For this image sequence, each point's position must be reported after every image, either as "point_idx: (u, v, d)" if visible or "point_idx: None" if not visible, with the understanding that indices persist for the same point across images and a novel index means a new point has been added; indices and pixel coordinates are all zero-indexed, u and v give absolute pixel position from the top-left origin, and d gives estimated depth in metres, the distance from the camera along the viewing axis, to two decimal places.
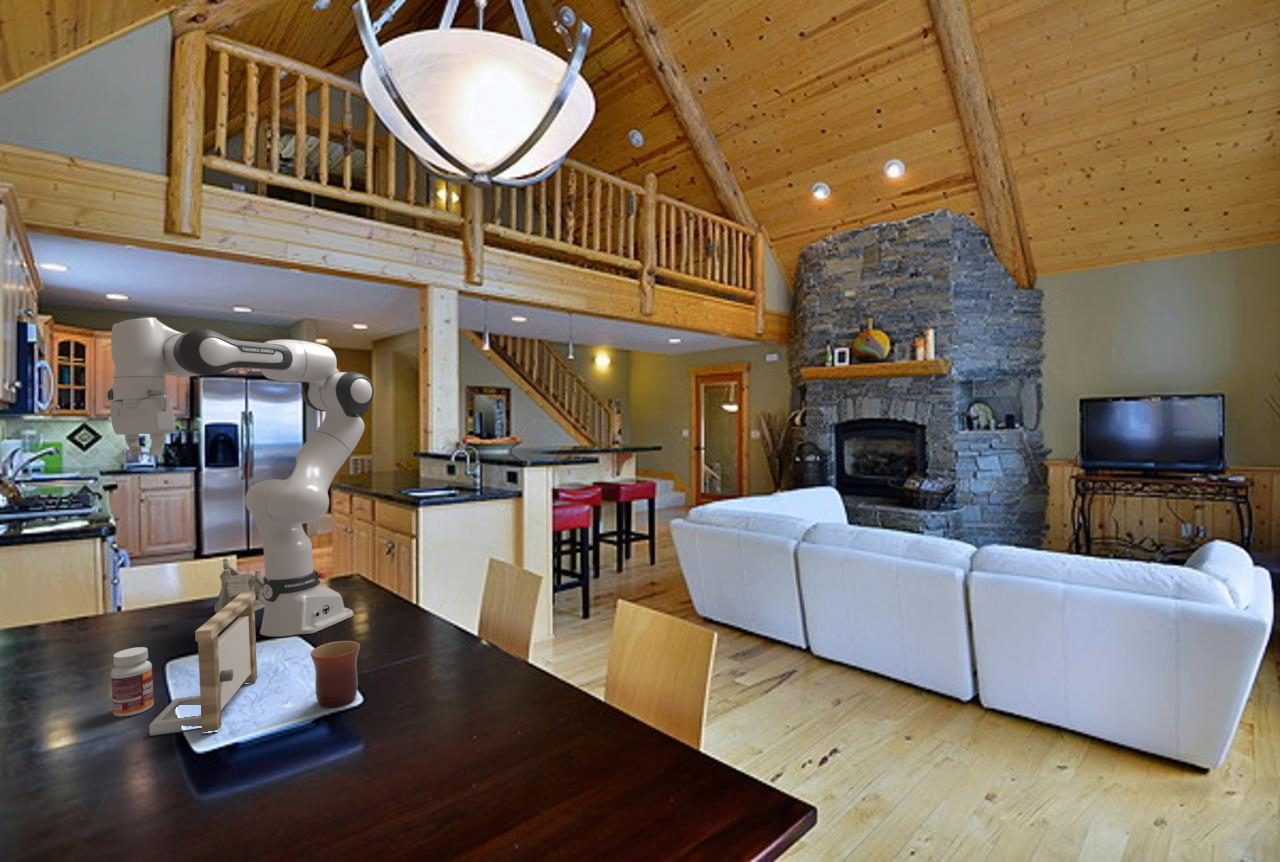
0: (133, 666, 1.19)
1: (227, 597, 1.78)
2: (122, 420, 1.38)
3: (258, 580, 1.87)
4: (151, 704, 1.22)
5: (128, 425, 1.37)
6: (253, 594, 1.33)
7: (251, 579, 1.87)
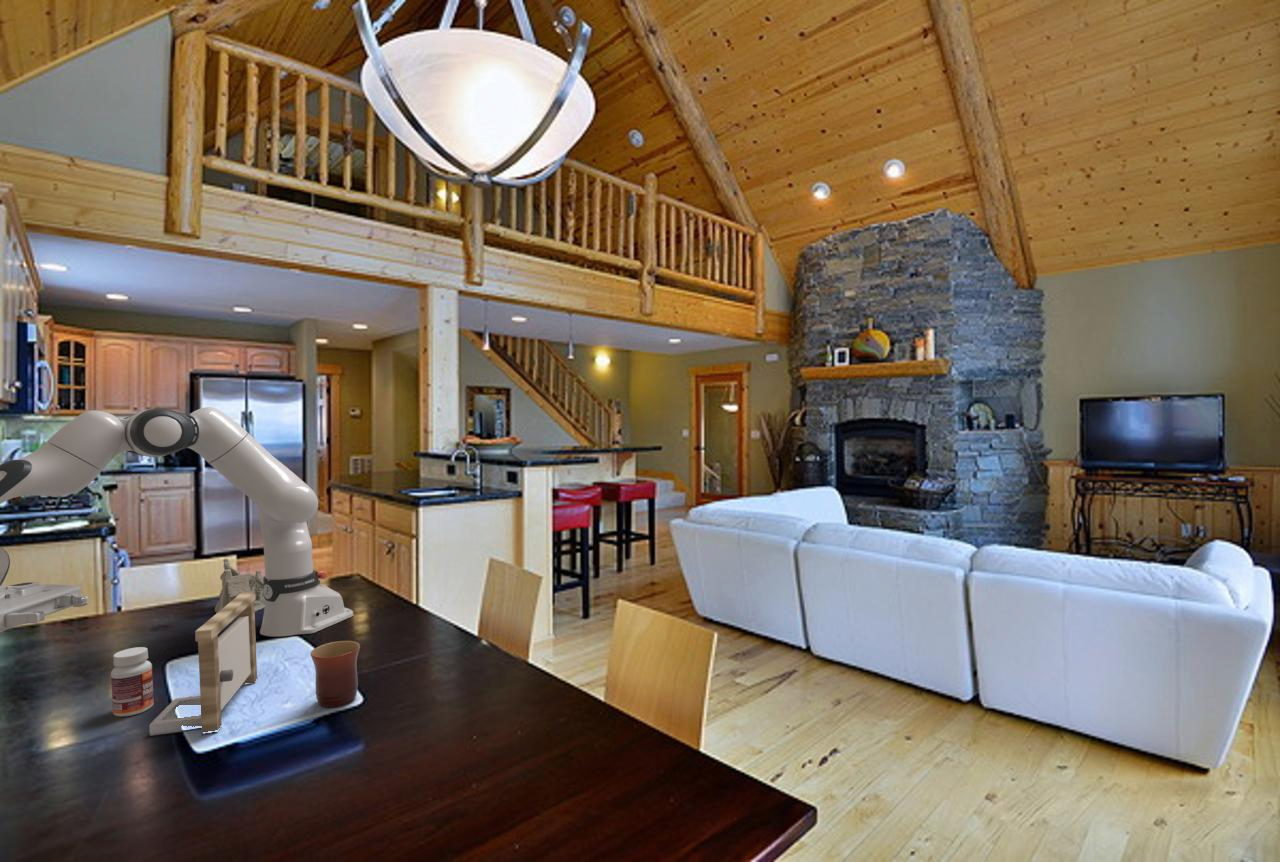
0: (133, 666, 1.19)
1: (228, 597, 1.78)
2: None
3: (259, 580, 1.87)
4: (151, 704, 1.22)
5: None
6: (253, 594, 1.33)
7: (252, 579, 1.87)
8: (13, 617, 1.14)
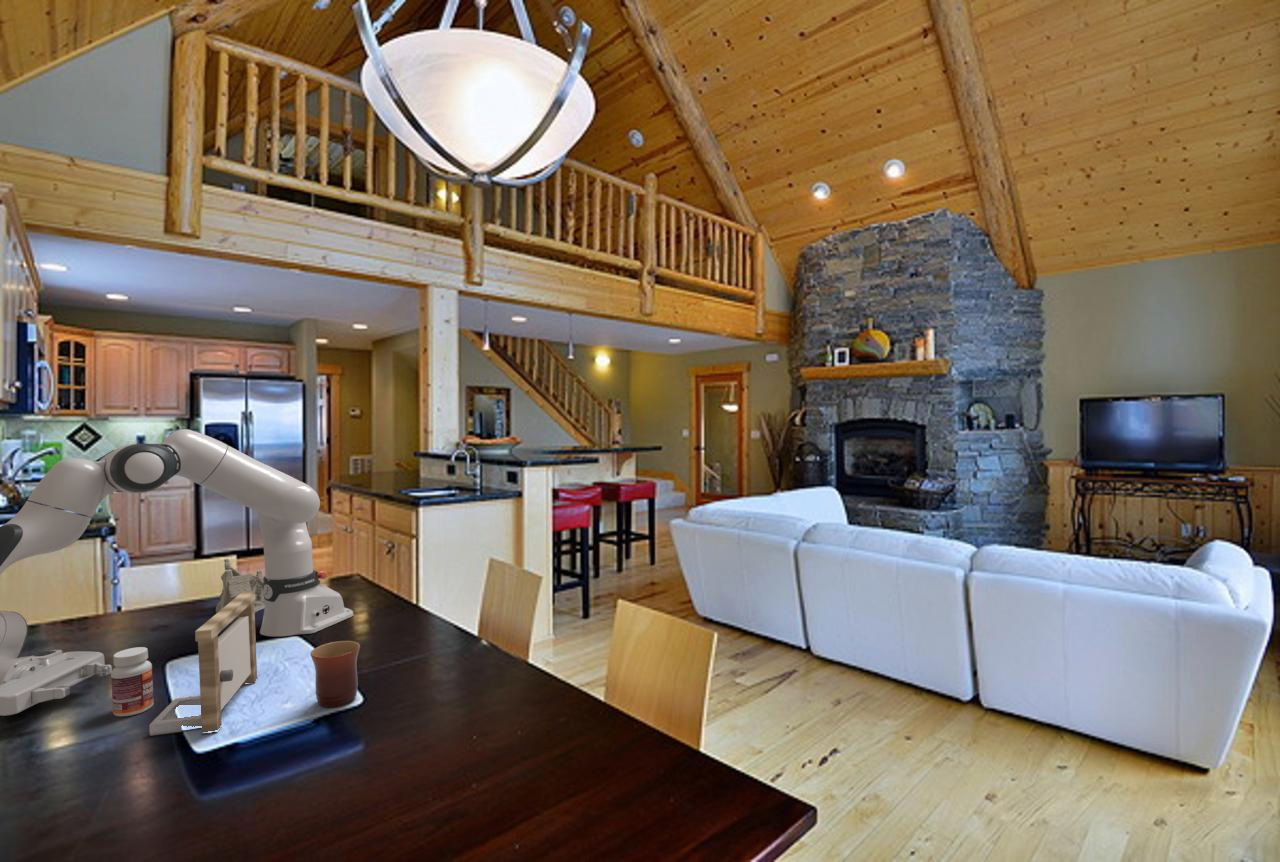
0: (133, 666, 1.19)
1: (229, 598, 1.78)
2: None
3: (260, 580, 1.86)
4: (151, 704, 1.22)
5: None
6: (253, 594, 1.33)
7: (252, 579, 1.86)
8: (39, 693, 1.15)
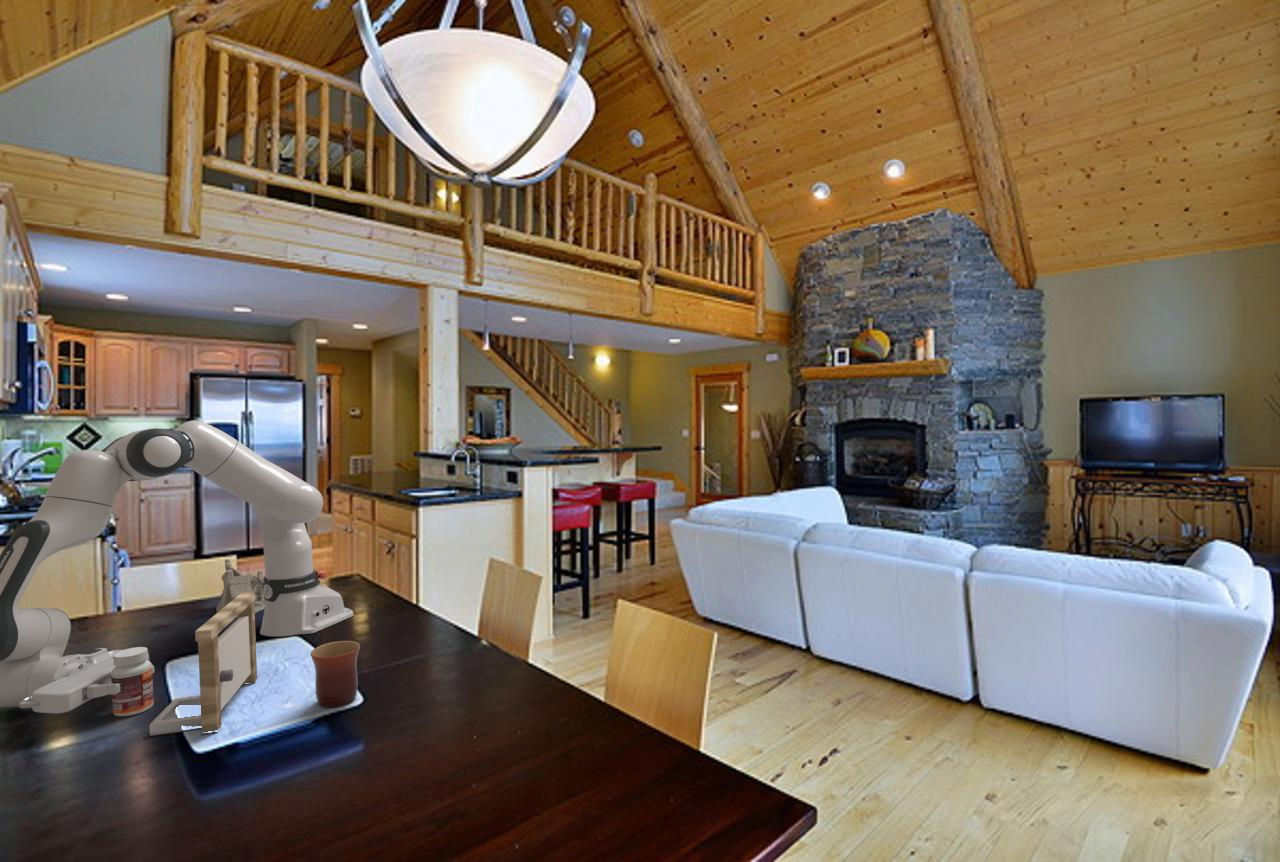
0: (133, 666, 1.19)
1: (229, 598, 1.78)
2: None
3: (260, 581, 1.86)
4: (151, 704, 1.22)
5: None
6: (253, 594, 1.33)
7: (253, 580, 1.86)
8: (95, 689, 1.16)
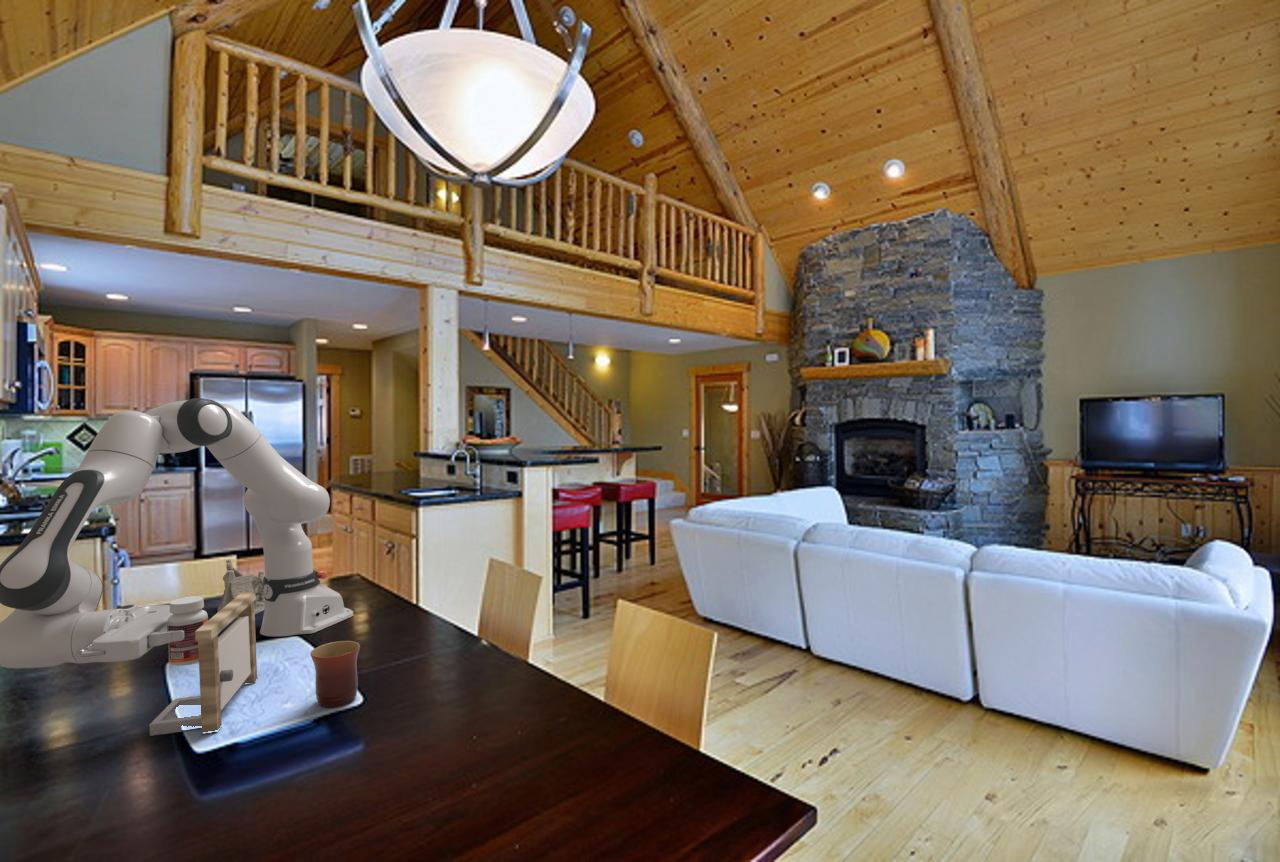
0: (193, 613, 1.16)
1: (231, 598, 1.77)
2: None
3: (262, 581, 1.86)
4: None
5: None
6: (253, 594, 1.33)
7: (254, 580, 1.86)
8: (159, 636, 1.11)
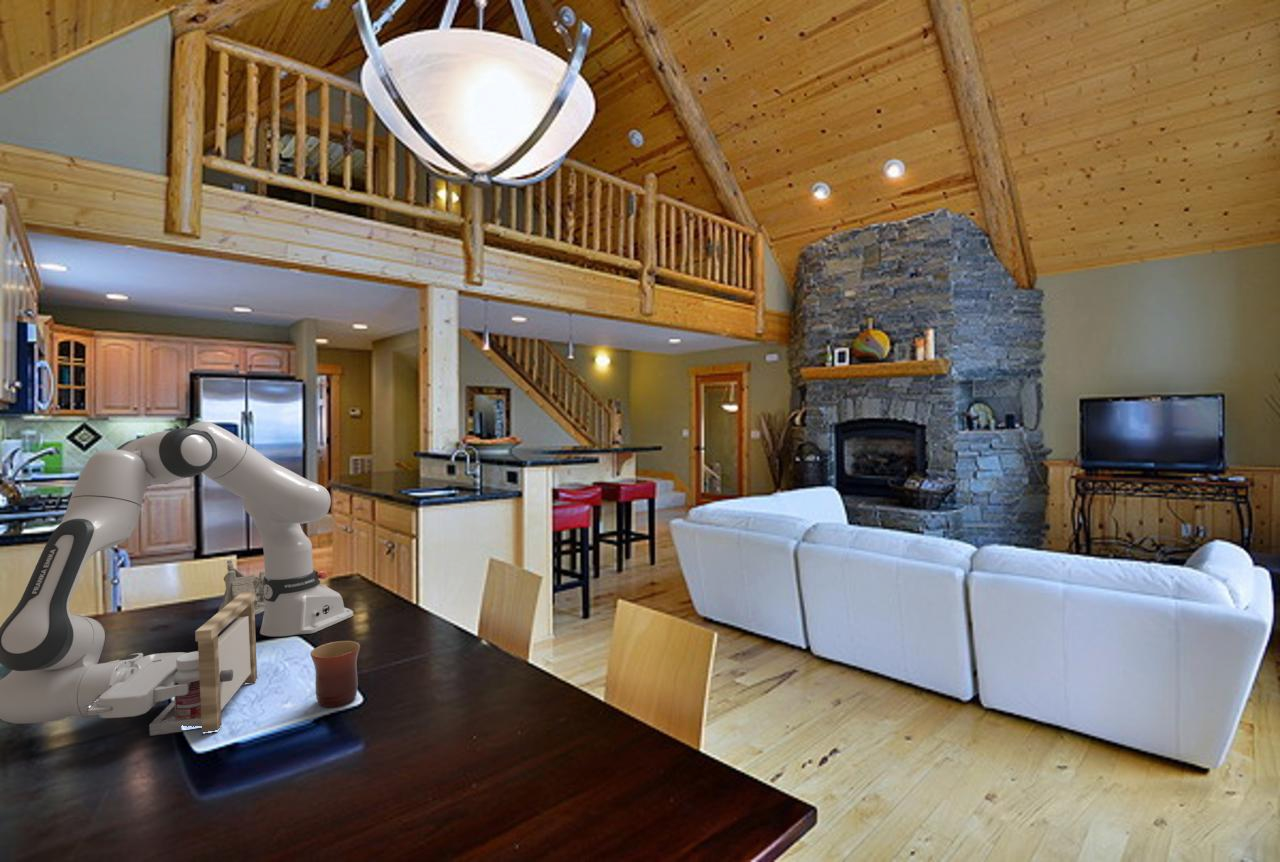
0: None
1: (232, 599, 1.77)
2: None
3: None
4: None
5: None
6: (253, 594, 1.33)
7: (255, 581, 1.85)
8: (163, 691, 1.11)
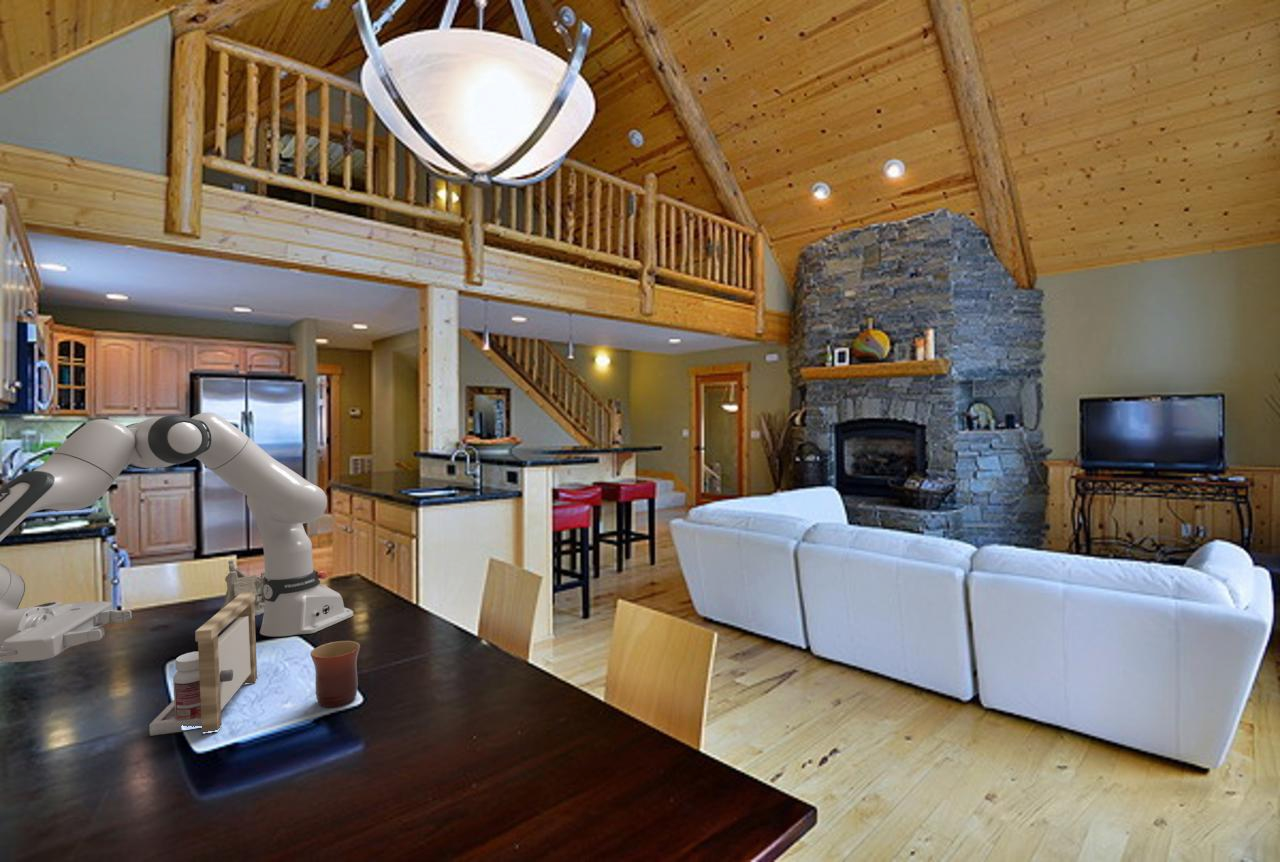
0: None
1: None
2: None
3: None
4: None
5: None
6: (253, 594, 1.33)
7: (257, 581, 1.85)
8: (73, 636, 1.07)
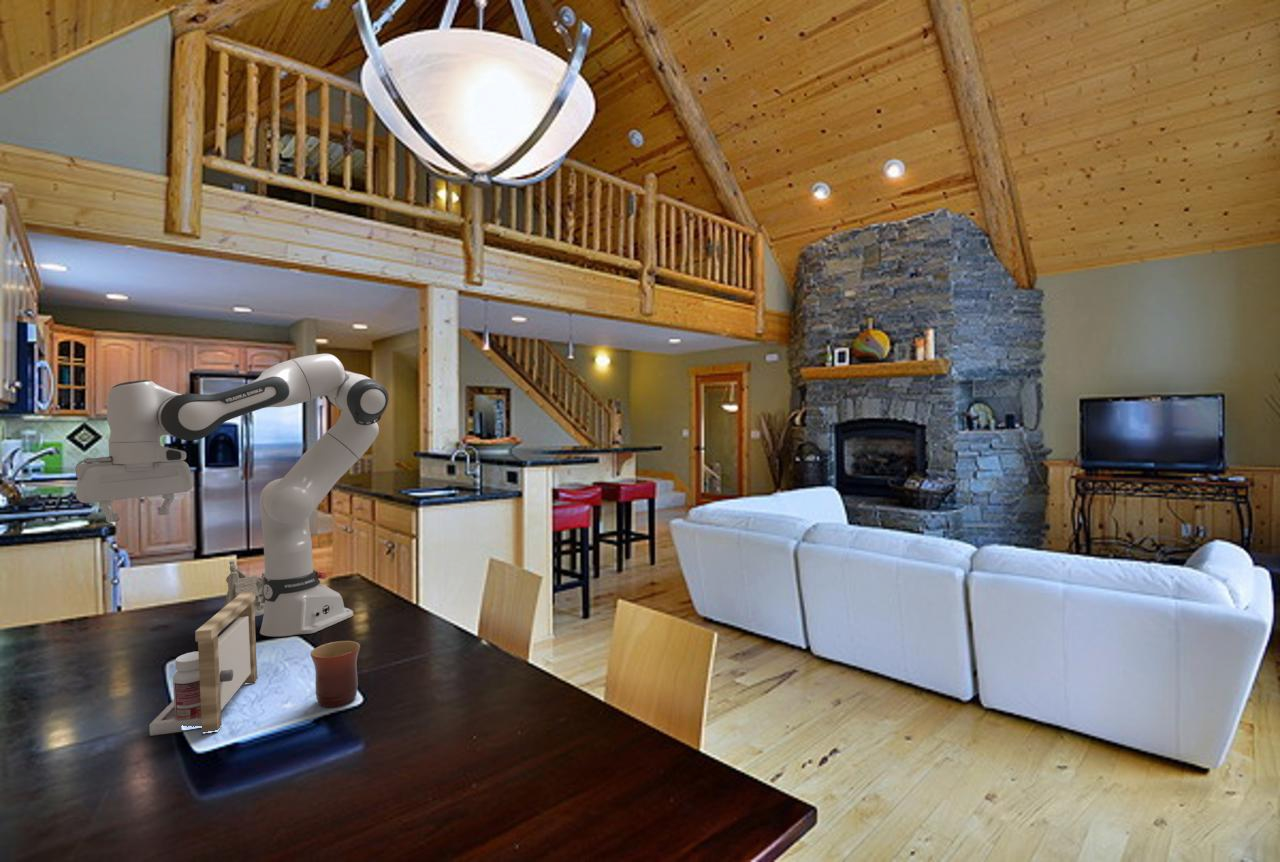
0: None
1: None
2: None
3: None
4: None
5: None
6: (253, 594, 1.33)
7: (258, 581, 1.84)
8: (102, 507, 1.32)
